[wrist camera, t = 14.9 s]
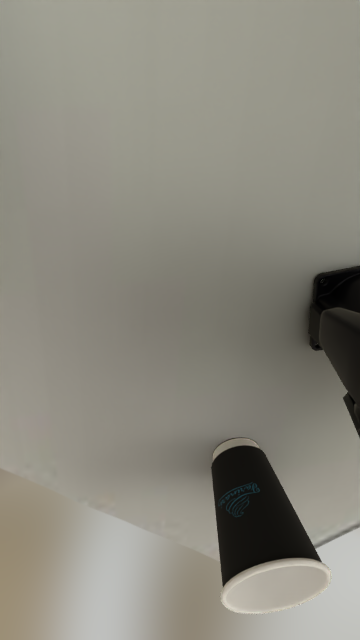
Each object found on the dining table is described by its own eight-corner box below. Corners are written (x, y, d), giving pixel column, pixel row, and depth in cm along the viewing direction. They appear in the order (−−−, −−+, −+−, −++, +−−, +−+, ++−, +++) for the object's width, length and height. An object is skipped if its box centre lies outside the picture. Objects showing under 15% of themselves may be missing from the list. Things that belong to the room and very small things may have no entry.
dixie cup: (252, 482, 34) (295, 615, 24) (184, 473, 32) (203, 614, 22) (289, 434, 30) (355, 567, 21) (216, 420, 28) (253, 561, 19)
